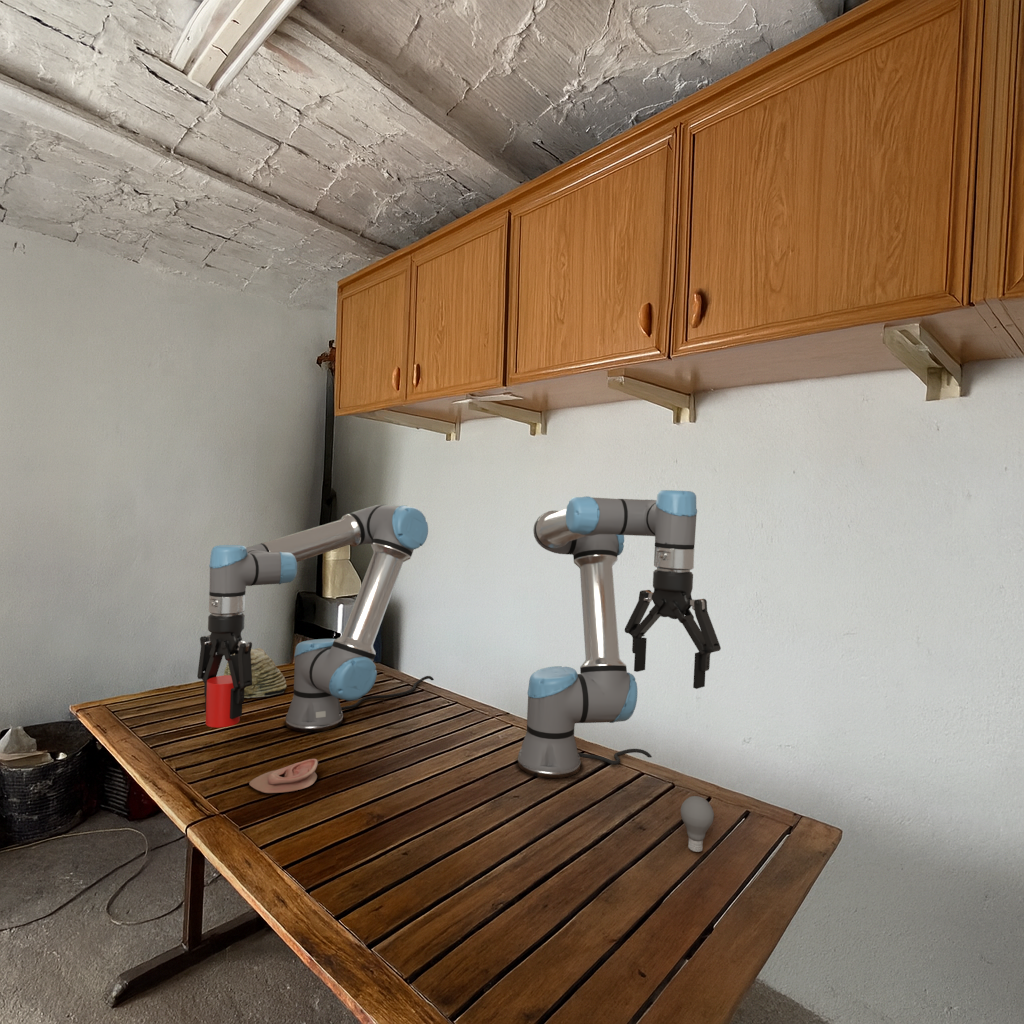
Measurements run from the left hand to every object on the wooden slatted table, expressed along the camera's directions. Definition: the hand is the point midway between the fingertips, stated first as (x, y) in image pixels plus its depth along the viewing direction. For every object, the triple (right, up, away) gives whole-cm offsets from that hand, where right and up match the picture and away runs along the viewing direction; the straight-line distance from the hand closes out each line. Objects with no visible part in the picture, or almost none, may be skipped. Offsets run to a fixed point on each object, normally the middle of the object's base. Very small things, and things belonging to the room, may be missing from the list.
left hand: (223, 713), depth 144 cm
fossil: (-15, -11, +54) cm, 57 cm away
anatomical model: (+15, -14, -5) cm, 21 cm away
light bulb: (+100, -18, -25) cm, 105 cm away
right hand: (+96, +13, -21) cm, 99 cm away
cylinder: (0, -2, 0) cm, 2 cm away
